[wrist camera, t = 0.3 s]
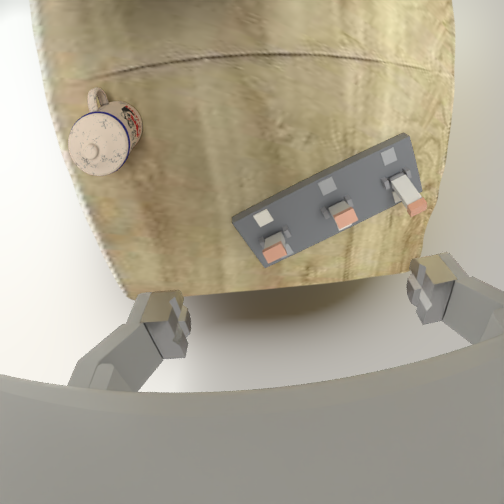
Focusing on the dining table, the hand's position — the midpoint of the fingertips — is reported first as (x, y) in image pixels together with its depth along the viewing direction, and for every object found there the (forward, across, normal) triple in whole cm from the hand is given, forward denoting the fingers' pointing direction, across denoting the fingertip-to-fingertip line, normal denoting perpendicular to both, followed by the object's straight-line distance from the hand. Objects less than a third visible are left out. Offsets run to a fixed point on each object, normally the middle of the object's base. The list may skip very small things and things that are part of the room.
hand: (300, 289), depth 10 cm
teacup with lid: (+37, +22, -6) cm, 43 cm away
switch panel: (+42, -10, +16) cm, 46 cm away
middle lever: (+39, -11, +16) cm, 43 cm away
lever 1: (+38, +1, +20) cm, 43 cm away
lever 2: (+39, -22, +12) cm, 46 cm away
